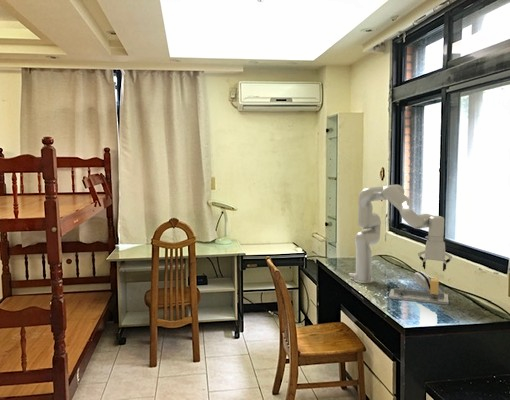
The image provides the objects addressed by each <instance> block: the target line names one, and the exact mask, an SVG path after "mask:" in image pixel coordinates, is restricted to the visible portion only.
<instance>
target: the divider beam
mask: <svg viewBox="0 0 510 400" xmlns="http://www.w3.org/2000/svg"><path fill="white" fill-rule="evenodd" d="M393 289H394V292H397V293H399V294H400V295H403V294H404V293H407V294H417V295H427V296H433V294H430V291H427V290H420V289H410V288H409V289H408V288H405V285H403V286H402V285H399V287H394V288H393ZM444 294H445V292H441V291H438V295H436V294H435V296H437V297H444Z"/></svg>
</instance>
